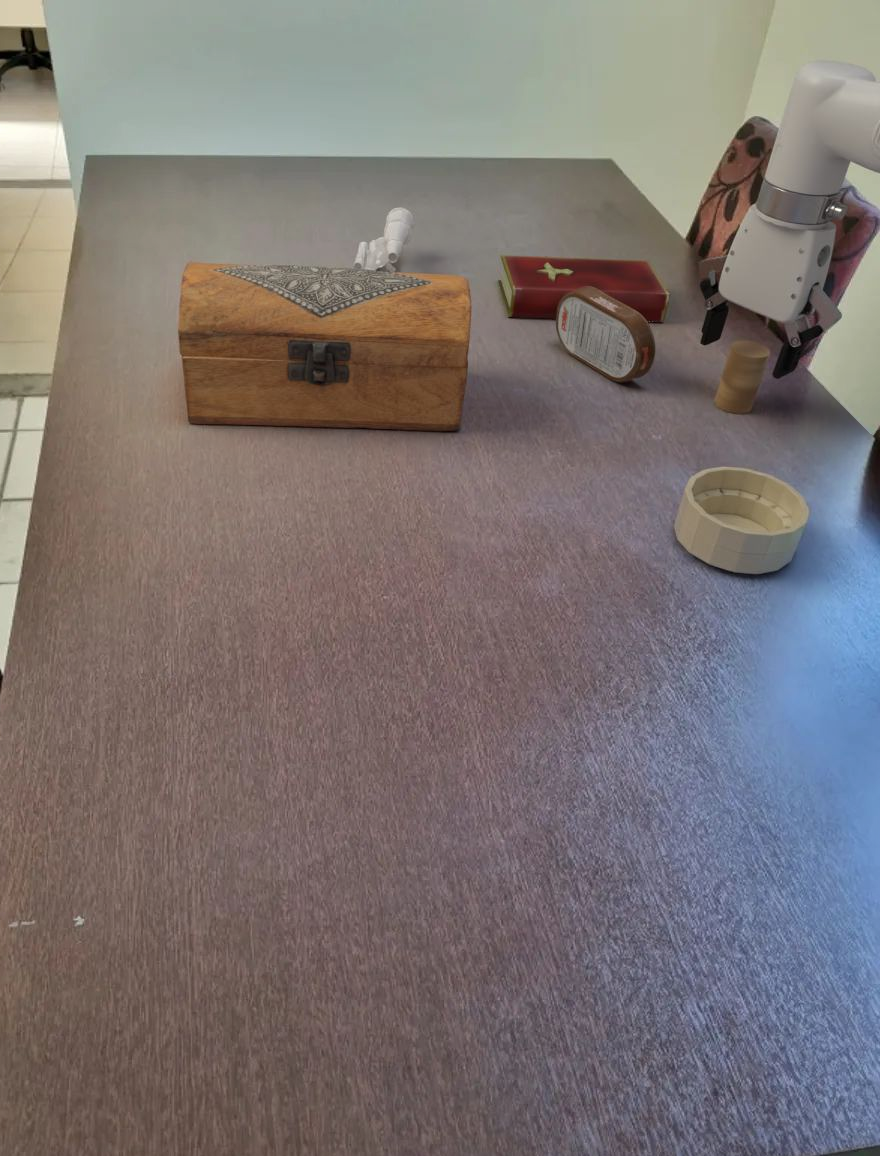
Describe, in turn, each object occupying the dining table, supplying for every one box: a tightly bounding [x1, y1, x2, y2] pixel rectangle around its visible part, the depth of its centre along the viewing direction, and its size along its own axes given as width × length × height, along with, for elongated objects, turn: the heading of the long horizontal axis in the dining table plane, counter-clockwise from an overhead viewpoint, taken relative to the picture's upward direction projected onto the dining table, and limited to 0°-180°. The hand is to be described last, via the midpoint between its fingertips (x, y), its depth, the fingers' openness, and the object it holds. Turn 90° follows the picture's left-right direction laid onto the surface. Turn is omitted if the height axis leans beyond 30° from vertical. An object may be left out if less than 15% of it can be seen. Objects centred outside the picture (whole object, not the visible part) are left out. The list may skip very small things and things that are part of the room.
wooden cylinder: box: [713, 339, 771, 415], centre depth 112 cm, size 4×4×7 cm
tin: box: [555, 286, 656, 383], centre depth 117 cm, size 15×3×8 cm, turn 34°
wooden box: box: [177, 261, 472, 432], centre depth 106 cm, size 30×16×14 cm, turn 91°
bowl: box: [673, 466, 811, 575], centre depth 92 cm, size 11×11×5 cm
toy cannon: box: [352, 207, 415, 272], centre depth 137 cm, size 8×14×5 cm
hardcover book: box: [497, 254, 671, 323], centre depth 133 cm, size 12×21×4 cm, turn 93°
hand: (744, 358), depth 111 cm, fingers open, 9 cm apart
